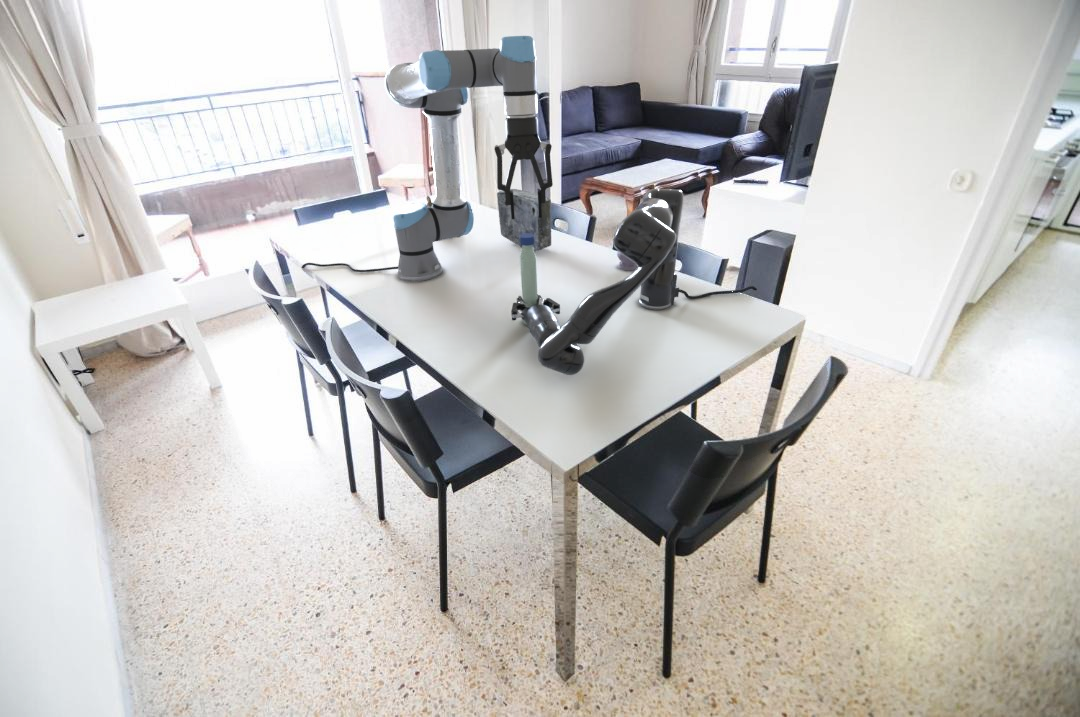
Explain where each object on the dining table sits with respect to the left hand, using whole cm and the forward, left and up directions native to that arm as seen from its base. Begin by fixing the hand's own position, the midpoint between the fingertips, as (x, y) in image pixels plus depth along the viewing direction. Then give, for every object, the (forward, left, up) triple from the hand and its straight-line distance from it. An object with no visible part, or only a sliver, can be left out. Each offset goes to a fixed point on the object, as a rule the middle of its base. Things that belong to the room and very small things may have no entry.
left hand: (526, 216), depth 126 cm
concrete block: (-26, +60, -30) cm, 72 cm away
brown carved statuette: (-70, +67, -30) cm, 101 cm away
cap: (0, 0, -5) cm, 5 cm away
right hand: (-2, +2, -24) cm, 24 cm away
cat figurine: (+17, +49, -30) cm, 60 cm away
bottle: (0, 0, -30) cm, 30 cm away
